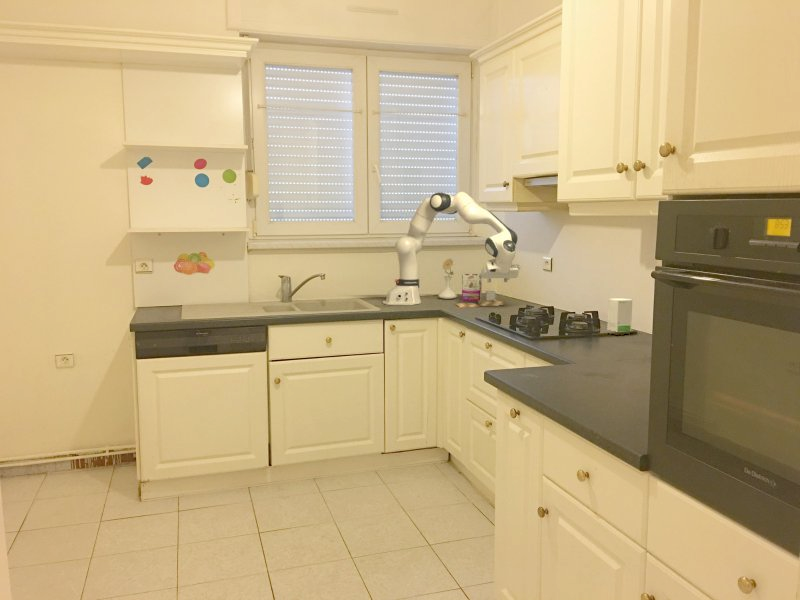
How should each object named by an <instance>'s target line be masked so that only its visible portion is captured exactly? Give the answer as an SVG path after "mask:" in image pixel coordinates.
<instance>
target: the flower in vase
mask: <svg viewBox="0 0 800 600" xmlns="http://www.w3.org/2000/svg"><path fill="white" fill-rule="evenodd" d="M453 265H454V260H453V259H452V258H447V259H445V261H443V264H442V269H443V270H444V273H446V274H447V275H445V276H443V277H444V280H445V288H444V290H442V291H441V292H440V293H439V294H438V298H441V299H444V300H452V299H455V298H457V297H458V295H457V294H456V292H454V291H453V290H452V289H451V288H450V283H451V280H452V279H451V278H452V277H453V275H454V272H453V270H452V266H453ZM448 270H450V271H449V272H448ZM451 270H452V271H451Z"/></svg>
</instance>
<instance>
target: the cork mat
mask: <svg viewBox="0 0 800 600" xmlns="http://www.w3.org/2000/svg"><path fill="white" fill-rule="evenodd" d="M454 304H455V305H454V306H456V305H457V306H456V307H458V306H459V307H458V308H477V307H478V308H480V307H481V306H480V305H478V303H475V302H472V303H471V302H467V303H465V302H464V303H463V302H462V303H459V302H458V303H457V302H456V303H454ZM475 306H476V307H475Z"/></svg>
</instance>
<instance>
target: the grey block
mask: <svg viewBox="0 0 800 600" xmlns="http://www.w3.org/2000/svg"><path fill="white" fill-rule="evenodd" d="M484 300H485V301H495V300H496V291H495V290H485V299H484Z"/></svg>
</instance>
